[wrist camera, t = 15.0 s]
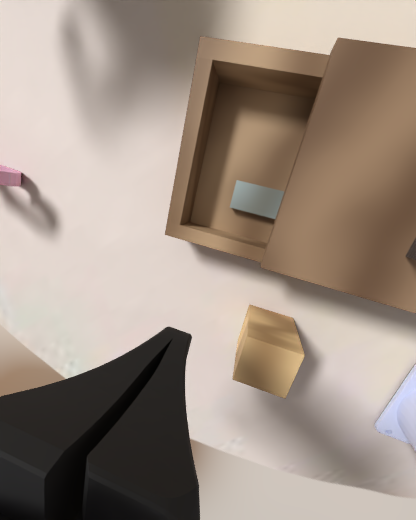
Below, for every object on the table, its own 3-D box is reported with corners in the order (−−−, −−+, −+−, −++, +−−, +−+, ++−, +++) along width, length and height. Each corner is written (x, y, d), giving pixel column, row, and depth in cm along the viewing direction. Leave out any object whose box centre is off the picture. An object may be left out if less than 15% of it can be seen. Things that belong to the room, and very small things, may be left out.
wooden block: (293, 317, 19) (304, 355, 15) (278, 353, 20) (285, 398, 16) (249, 304, 20) (247, 336, 15) (238, 339, 21) (232, 379, 16)
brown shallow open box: (420, 105, 14) (470, 75, 11) (341, 274, 17) (360, 291, 14) (211, 69, 16) (200, 36, 12) (180, 229, 19) (164, 234, 16)
